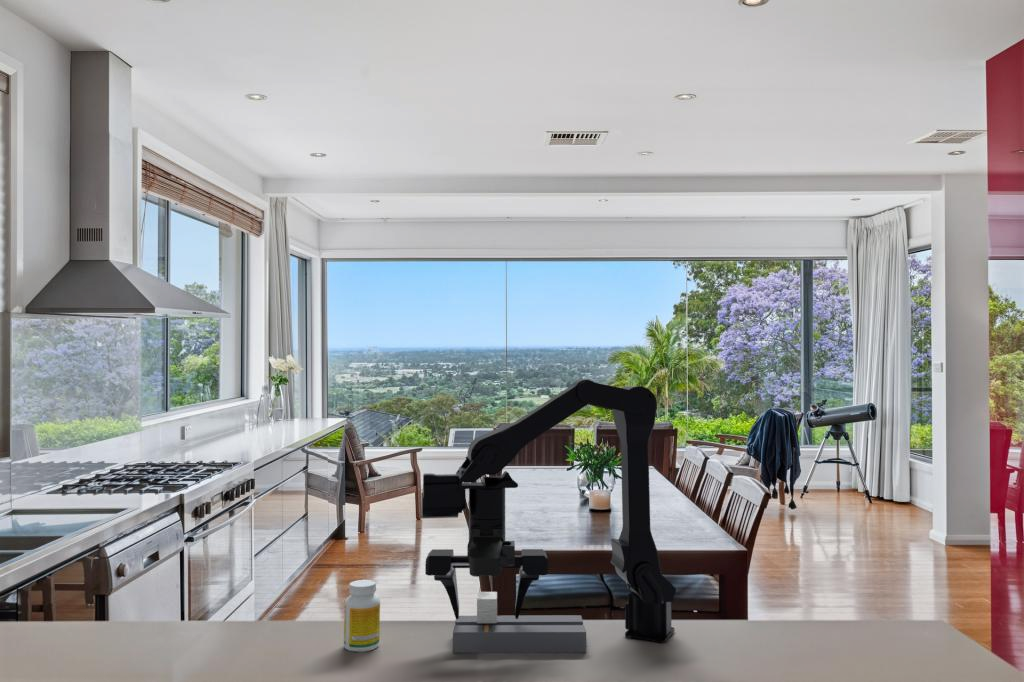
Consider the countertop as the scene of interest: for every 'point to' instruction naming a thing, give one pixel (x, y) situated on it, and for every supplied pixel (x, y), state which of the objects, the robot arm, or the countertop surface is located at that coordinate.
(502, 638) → the fader console
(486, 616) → the fader tab
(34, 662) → the countertop surface
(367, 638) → the supplement bottle
